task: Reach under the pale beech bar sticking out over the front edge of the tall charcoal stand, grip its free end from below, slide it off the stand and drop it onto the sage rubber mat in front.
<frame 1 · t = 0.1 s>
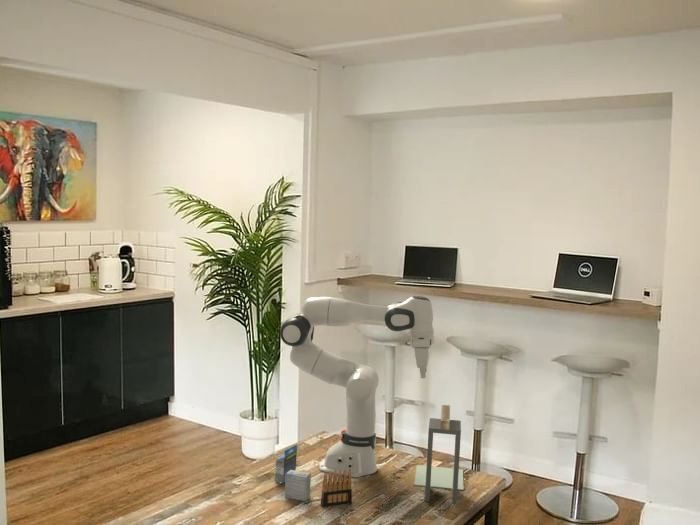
hand: (423, 374, 258), 39 cm above the table, tool pointing down, fingers open, 8 cm apart
mat: (439, 477, 259), on the table
stand: (441, 495, 242), on the table
label tape box: (285, 479, 252), on the table
medicine box: (297, 498, 236), on the table
beech bar: (445, 420, 244), point 26 cm above the table, touching stand
ammunition clip: (336, 504, 232), on the table
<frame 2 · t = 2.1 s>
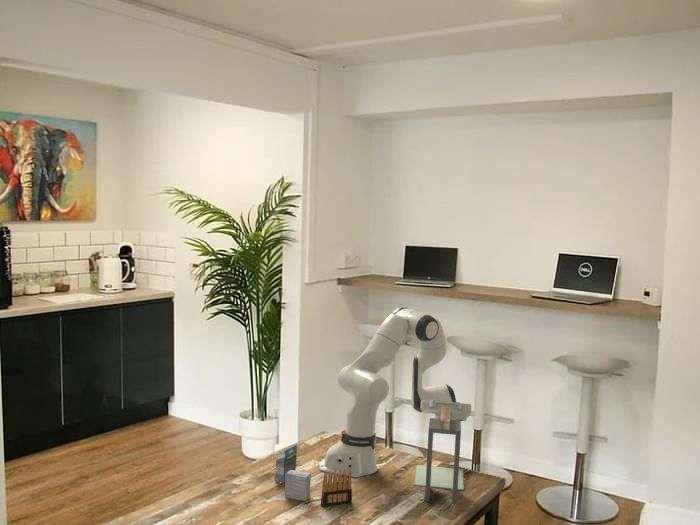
hand: (445, 403, 269), 26 cm above the table, tool pointing upward, fingers open, 8 cm apart
nothing on the table moved.
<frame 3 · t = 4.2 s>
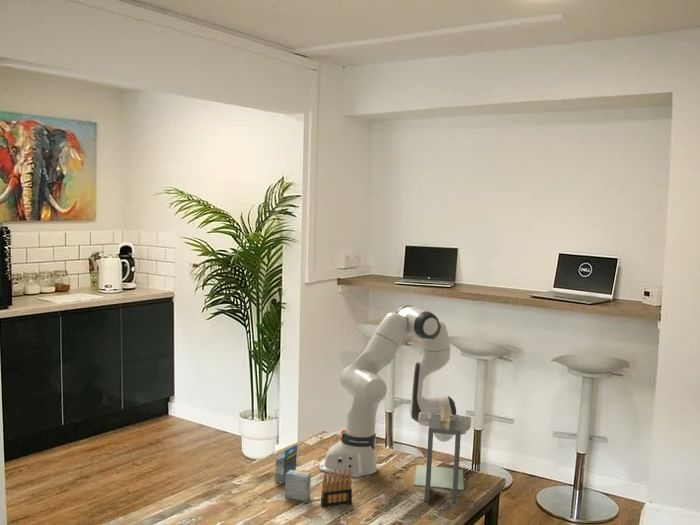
hand: (445, 415, 257), 24 cm above the table, tool pointing upward, fingers open, 8 cm apart
nothing on the table moved.
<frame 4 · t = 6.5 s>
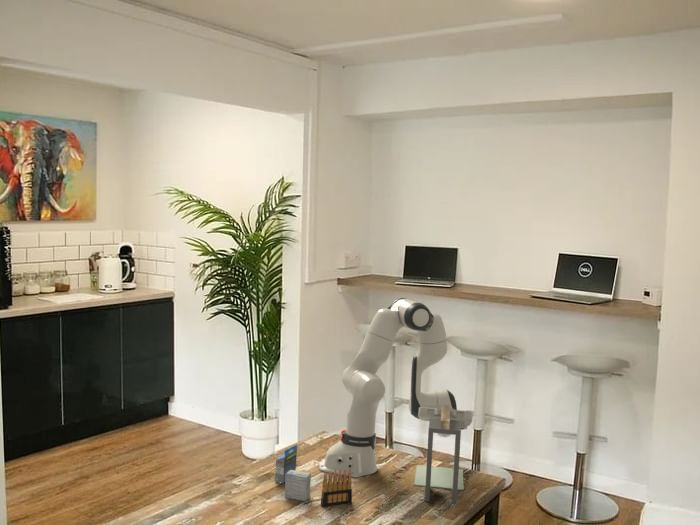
hand: (445, 410, 251), 28 cm above the table, tool pointing upward, fingers closed on beech bar, 3 cm apart
beech bar: (445, 420, 244), point 26 cm above the table, touching gripper, stand
everything else where it was.
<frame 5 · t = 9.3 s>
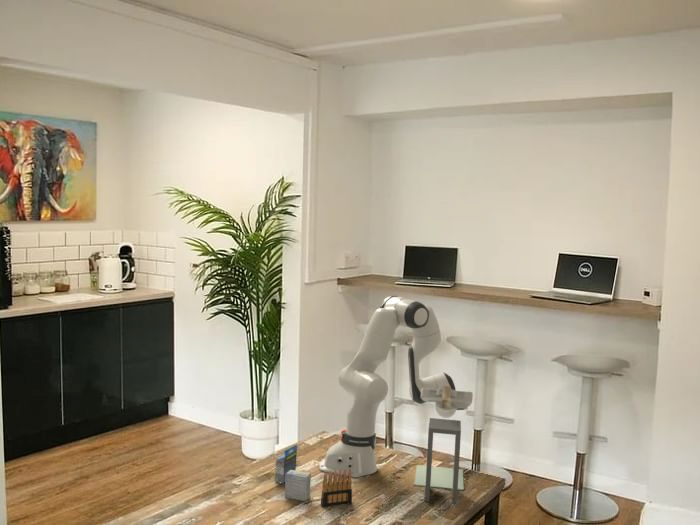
hand: (446, 391, 263), 32 cm above the table, tool pointing upward, fingers closed on beech bar, 3 cm apart
beech bar: (446, 400, 256), point 30 cm above the table, touching gripper
everything else where it was.
when the fingers open (20 cm above the table, at t = 12.7 s): beech bar drops 17 cm, resting on mat.
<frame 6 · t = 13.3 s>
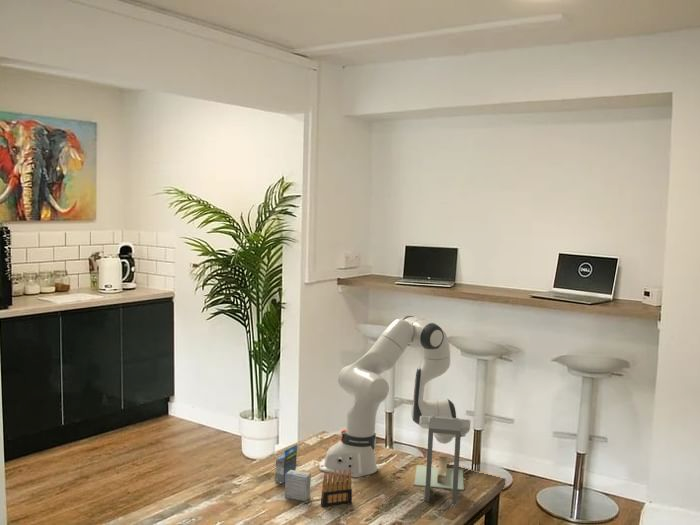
hand: (445, 419, 267), 20 cm above the table, tool pointing upward, fingers open, 8 cm apart
beech bar: (442, 473, 263), resting on mat
everything else where it was.
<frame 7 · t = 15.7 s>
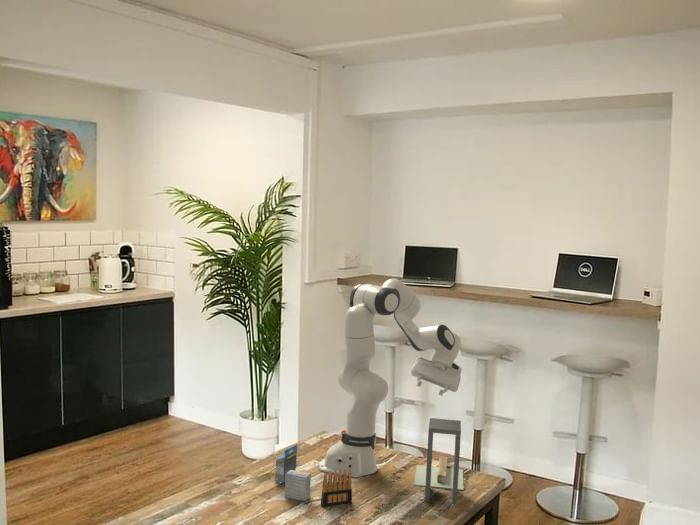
hand: (429, 390, 275), 29 cm above the table, tool tilted 55°, fingers open, 8 cm apart
nothing on the table moved.
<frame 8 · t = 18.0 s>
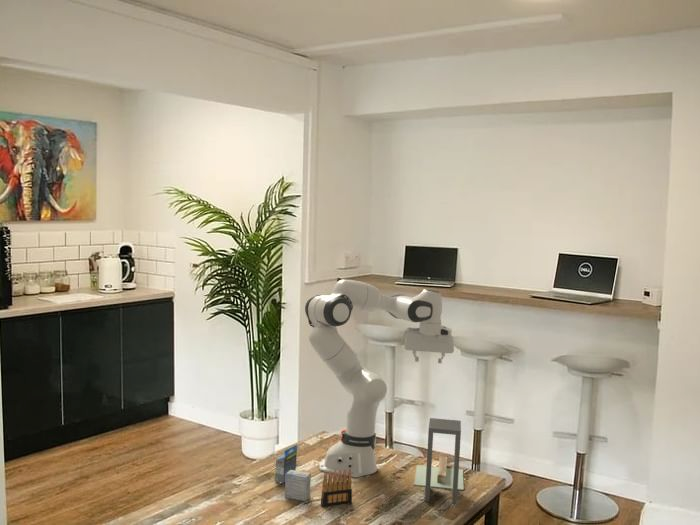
hand: (428, 362, 280), 39 cm above the table, tool pointing down, fingers open, 8 cm apart
nothing on the table moved.
at the end: beech bar inside the target area (1.3 cm from its centre), resting on mat; the gripper is holding nothing; beech bar moved 30.6 cm from its start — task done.
